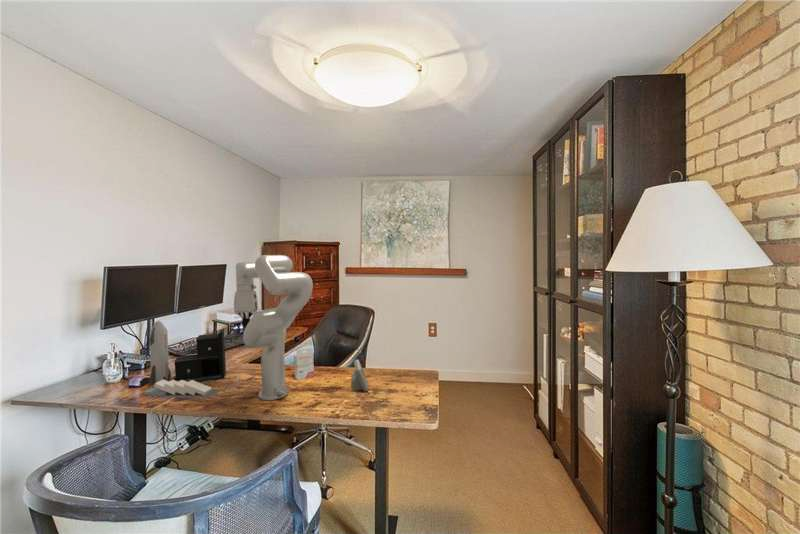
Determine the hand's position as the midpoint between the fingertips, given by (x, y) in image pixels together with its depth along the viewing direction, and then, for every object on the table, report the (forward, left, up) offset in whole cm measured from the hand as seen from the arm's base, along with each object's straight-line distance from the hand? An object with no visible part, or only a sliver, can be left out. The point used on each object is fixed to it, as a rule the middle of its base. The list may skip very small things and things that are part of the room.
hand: (246, 326), depth 170 cm
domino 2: (+14, +25, -26) cm, 38 cm away
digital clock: (-51, -23, -27) cm, 62 cm away
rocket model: (+39, +21, -27) cm, 52 cm away
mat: (+9, +22, -27) cm, 36 cm away
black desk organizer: (+25, +9, -27) cm, 38 cm away
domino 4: (+6, +20, -26) cm, 33 cm away
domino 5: (+2, +18, -26) cm, 32 cm away
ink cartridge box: (-18, -19, -27) cm, 38 cm away
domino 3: (+10, +22, -26) cm, 36 cm away
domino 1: (+18, +27, -26) cm, 41 cm away
